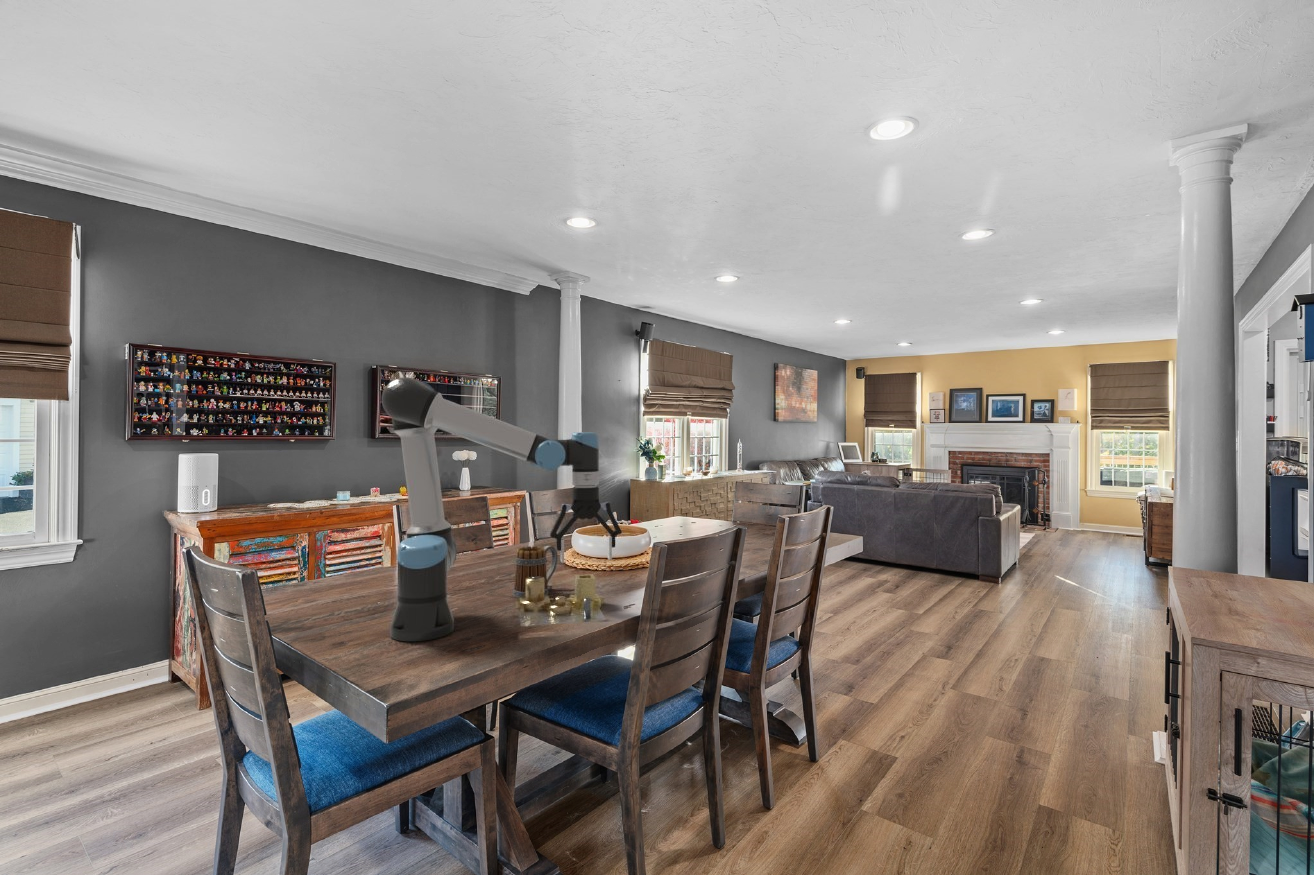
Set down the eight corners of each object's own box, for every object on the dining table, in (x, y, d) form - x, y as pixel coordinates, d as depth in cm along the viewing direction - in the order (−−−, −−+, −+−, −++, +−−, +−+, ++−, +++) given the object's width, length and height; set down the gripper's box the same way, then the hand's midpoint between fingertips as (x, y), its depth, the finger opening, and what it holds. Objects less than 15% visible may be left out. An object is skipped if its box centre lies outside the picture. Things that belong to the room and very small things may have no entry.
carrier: (517, 631, 156) (517, 593, 156) (515, 607, 177) (515, 573, 177) (606, 624, 161) (606, 588, 161) (593, 602, 182) (594, 569, 182)
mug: (529, 605, 179) (529, 553, 179) (505, 598, 185) (505, 549, 185) (567, 593, 191) (567, 546, 191) (544, 588, 198) (544, 542, 198)
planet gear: (568, 611, 169) (568, 582, 169) (564, 600, 179) (564, 573, 179) (605, 608, 172) (606, 580, 172) (600, 598, 182) (600, 571, 182)
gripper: (542, 488, 168) (543, 566, 169) (631, 486, 174) (631, 560, 175) (540, 486, 176) (541, 560, 176) (625, 483, 182) (626, 555, 182)
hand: (586, 560), depth 175 cm, fingers open, 13 cm apart
